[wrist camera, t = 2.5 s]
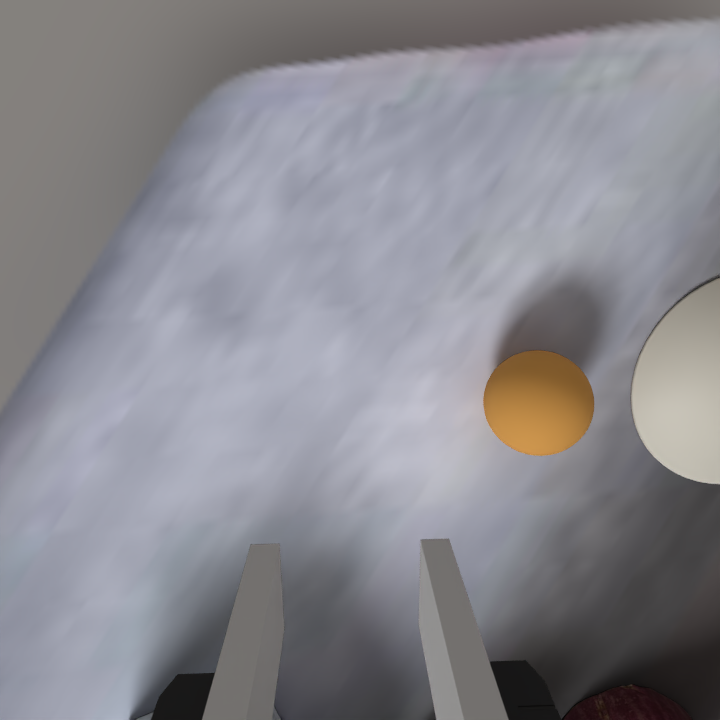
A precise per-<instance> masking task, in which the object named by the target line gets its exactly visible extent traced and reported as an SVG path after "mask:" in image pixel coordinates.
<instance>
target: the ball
mask: <svg viewBox="0 0 720 720" xmlns="http://www.w3.org/2000/svg"><path fill="white" fill-rule="evenodd" d="M483 403H484V411H485V416H486V419H487V421H488V423H489V426H490V427H491V429H492V431H493V432H494V433H495V435H496V436H497V437H498V438H499V439H500V440H501V441H502V442H503V443H505V444H506V445H508V446H509V447H511V448H512V449H514V450H516V451H519V452H522V453H525V454H529V455H538V456H543V455H551V454H556V453H559V452H562V451H564V450H566V449H568V448H569V447H571V446H572V445H574V444H575V443H576V442H577V441H578V440H579V439H581V437H582V436H583V435H584V434H585V432H586V431H587V429H588V427H589V425H590V423H591V420H592V417H593V412H594V396H593V392H592V388H591V385H590V383H589V381H588V379H587V377H586V376H585V374H584V373H583V372H582V371H581V369H580V368H579V367H578V366H577V365H575V364H574V363H573V362H572V361H570V360H569V359H567V358H565V357H563V356H561V355H559V354H556V353H553V352H549V351H542V350H533V351H526V352H522V353H519V354H516V355H514V356H512V357H510V358H508V359H506V360H505V361H504V362H502V363H501V364H500V365H499V366H498V367H497V368H496V369H495V370H494V372H493V373H492V374H491V376H490V378H489V380H488V382H487V385H486V388H485V392H484V399H483Z"/></svg>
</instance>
